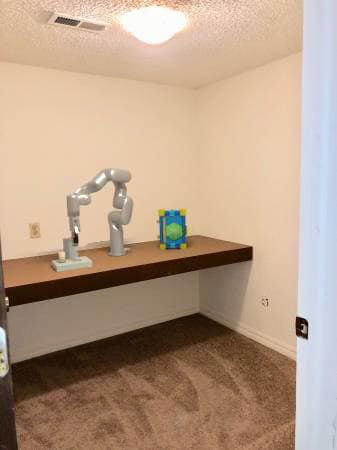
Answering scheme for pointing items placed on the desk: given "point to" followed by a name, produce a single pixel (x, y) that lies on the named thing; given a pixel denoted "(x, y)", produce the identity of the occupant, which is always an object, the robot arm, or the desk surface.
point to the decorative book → (172, 228)
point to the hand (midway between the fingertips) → (75, 242)
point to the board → (70, 263)
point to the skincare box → (69, 248)
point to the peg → (72, 240)
